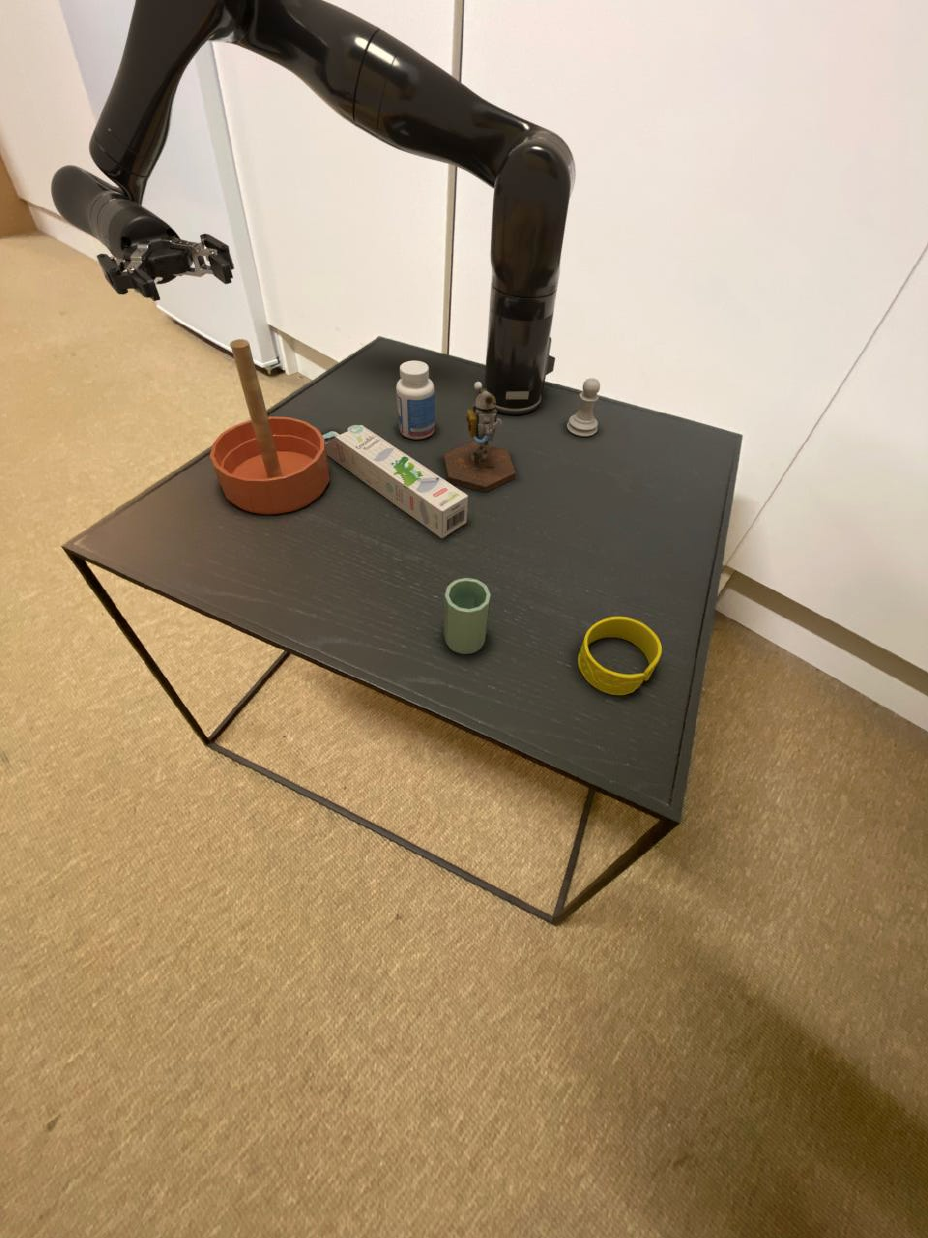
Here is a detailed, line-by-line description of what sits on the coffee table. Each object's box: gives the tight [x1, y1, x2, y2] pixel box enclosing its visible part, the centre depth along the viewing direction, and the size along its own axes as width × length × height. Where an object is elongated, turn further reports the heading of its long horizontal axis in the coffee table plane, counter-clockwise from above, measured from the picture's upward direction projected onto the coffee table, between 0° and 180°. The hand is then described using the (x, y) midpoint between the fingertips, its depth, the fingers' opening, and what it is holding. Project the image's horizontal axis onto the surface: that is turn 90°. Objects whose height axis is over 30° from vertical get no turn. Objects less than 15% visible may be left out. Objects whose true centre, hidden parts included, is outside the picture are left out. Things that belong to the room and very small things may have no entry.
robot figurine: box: [443, 381, 516, 494], centre depth 75 cm, size 11×9×12 cm
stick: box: [229, 338, 283, 478], centre depth 69 cm, size 2×2×18 cm
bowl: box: [209, 416, 331, 515], centre depth 74 cm, size 14×14×6 cm
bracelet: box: [577, 616, 663, 696], centre depth 58 cm, size 7×8×3 cm
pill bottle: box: [396, 360, 436, 440], centre depth 82 cm, size 6×5×10 cm
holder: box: [443, 577, 492, 655], centre depth 58 cm, size 4×4×7 cm
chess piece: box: [566, 377, 601, 438], centre depth 84 cm, size 5×5×8 cm
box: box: [321, 424, 469, 539], centre depth 76 cm, size 4×4×28 cm
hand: (191, 282), depth 65 cm, fingers open, 8 cm apart
